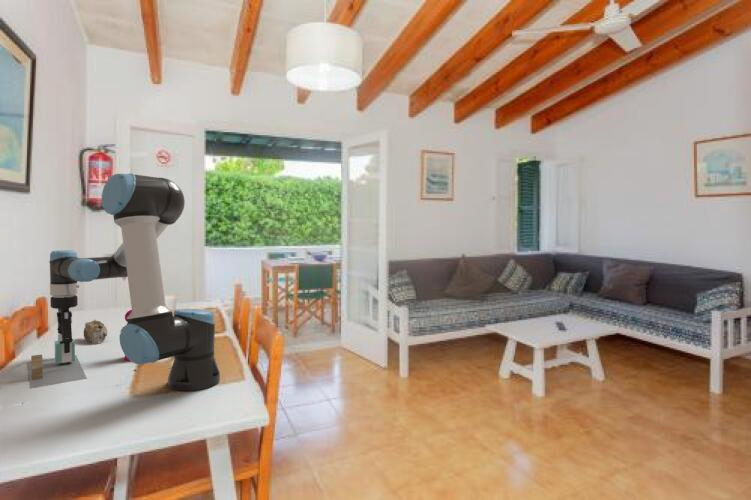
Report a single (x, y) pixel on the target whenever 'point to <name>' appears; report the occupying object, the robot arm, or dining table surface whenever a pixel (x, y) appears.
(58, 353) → the mint green foam cube
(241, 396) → the dining table surface
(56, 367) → the stand
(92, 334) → the rock
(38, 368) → the post beech
